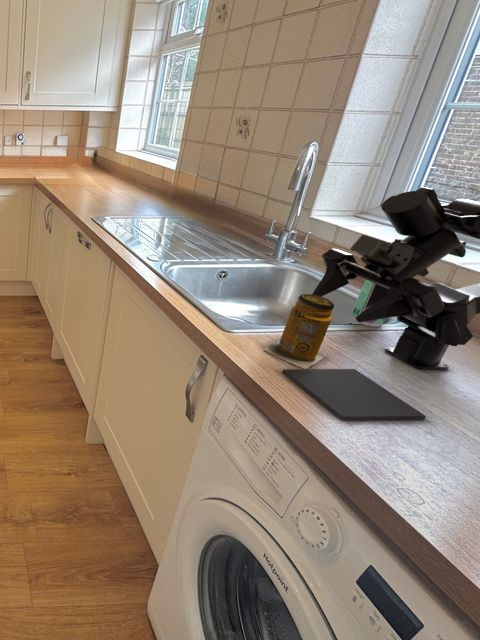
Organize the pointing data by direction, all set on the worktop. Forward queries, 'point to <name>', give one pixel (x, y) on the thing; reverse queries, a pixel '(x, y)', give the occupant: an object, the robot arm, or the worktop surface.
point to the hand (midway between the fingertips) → (334, 307)
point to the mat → (351, 395)
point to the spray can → (369, 299)
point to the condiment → (304, 331)
